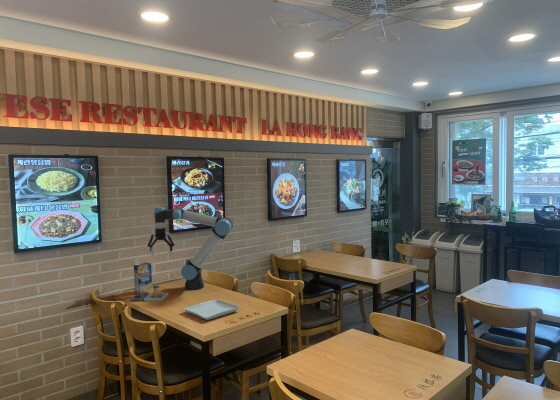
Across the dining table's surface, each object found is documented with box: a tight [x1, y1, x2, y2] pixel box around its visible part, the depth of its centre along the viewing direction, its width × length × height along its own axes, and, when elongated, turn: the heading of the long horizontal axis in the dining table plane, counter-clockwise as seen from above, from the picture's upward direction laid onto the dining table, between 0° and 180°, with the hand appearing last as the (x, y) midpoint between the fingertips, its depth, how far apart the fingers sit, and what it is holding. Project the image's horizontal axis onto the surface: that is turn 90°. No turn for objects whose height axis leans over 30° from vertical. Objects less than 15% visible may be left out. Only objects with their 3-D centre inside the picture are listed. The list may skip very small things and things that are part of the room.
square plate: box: [182, 298, 241, 321], centre depth 262 cm, size 27×27×4 cm
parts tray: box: [143, 292, 169, 302], centre depth 294 cm, size 13×13×2 cm
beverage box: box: [133, 262, 153, 295], centre depth 312 cm, size 7×11×22 cm, turn 134°
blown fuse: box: [152, 284, 160, 298], centre depth 294 cm, size 4×4×9 cm
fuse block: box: [130, 292, 150, 302], centre depth 296 cm, size 7×16×3 cm, turn 176°
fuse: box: [139, 283, 145, 295], centre depth 300 cm, size 4×4×9 cm
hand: (161, 255), depth 308 cm, fingers open, 13 cm apart
